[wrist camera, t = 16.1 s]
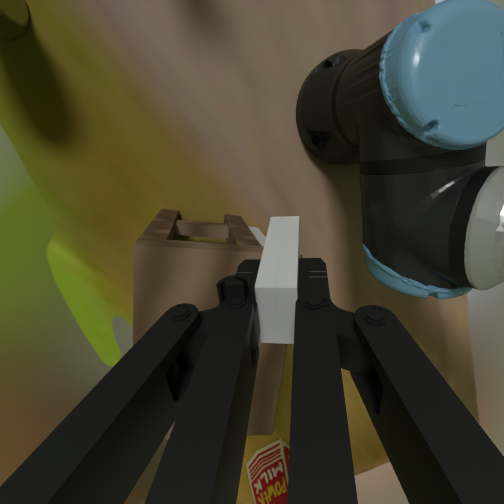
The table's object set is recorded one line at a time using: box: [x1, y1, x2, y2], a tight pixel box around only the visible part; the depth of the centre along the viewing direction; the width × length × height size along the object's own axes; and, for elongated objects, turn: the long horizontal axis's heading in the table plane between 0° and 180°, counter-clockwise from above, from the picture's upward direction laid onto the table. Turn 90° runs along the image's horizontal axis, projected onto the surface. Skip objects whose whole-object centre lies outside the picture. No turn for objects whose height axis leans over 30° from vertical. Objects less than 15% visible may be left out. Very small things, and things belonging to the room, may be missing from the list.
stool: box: [133, 209, 302, 440], centre depth 40 cm, size 16×22×20 cm
